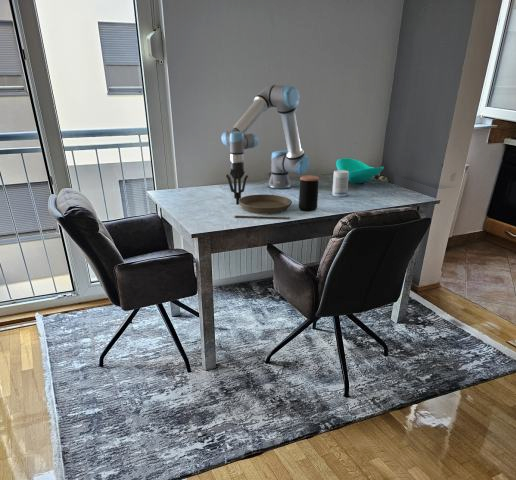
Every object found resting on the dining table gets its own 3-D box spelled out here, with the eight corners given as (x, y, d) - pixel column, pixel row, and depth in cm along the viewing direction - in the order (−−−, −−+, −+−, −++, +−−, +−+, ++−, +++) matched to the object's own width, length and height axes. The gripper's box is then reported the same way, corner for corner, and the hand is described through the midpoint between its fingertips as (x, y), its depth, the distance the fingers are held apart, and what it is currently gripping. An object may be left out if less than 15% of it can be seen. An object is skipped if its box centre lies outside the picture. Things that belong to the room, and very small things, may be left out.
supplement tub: (349, 195, 301) (352, 171, 293) (338, 197, 296) (341, 173, 289) (339, 192, 308) (341, 169, 300) (328, 194, 303) (330, 171, 296)
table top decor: (325, 179, 343) (326, 160, 336) (355, 175, 355) (357, 156, 348) (359, 190, 314) (362, 169, 307) (391, 186, 325) (394, 165, 318)
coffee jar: (318, 207, 276) (320, 176, 267) (314, 212, 267) (316, 180, 258) (301, 206, 279) (302, 174, 270) (296, 210, 270) (298, 178, 261)
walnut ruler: (234, 217, 258) (234, 216, 258) (235, 216, 261) (235, 215, 260) (289, 219, 256) (289, 218, 256) (289, 218, 258) (289, 217, 258)
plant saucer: (294, 202, 286) (294, 195, 283) (287, 217, 260) (288, 208, 257) (244, 200, 291) (244, 192, 288) (233, 213, 265) (233, 205, 262)
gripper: (224, 162, 261) (225, 205, 273) (247, 163, 260) (247, 206, 272) (226, 160, 267) (227, 202, 279) (249, 160, 266) (249, 202, 278)
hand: (237, 204), depth 276 cm, fingers closed
